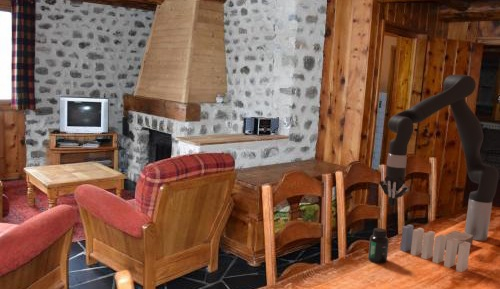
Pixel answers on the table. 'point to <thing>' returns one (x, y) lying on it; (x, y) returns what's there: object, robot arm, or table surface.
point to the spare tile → (406, 238)
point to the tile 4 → (439, 248)
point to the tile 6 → (463, 256)
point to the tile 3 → (428, 245)
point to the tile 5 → (451, 252)
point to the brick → (459, 237)
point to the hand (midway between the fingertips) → (392, 206)
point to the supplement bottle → (378, 246)
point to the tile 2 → (417, 241)
